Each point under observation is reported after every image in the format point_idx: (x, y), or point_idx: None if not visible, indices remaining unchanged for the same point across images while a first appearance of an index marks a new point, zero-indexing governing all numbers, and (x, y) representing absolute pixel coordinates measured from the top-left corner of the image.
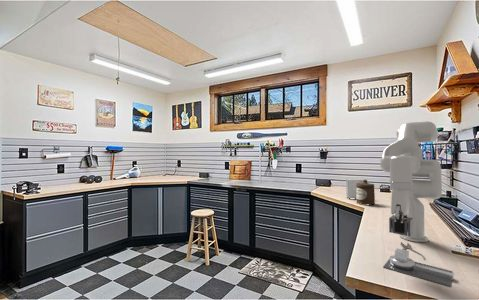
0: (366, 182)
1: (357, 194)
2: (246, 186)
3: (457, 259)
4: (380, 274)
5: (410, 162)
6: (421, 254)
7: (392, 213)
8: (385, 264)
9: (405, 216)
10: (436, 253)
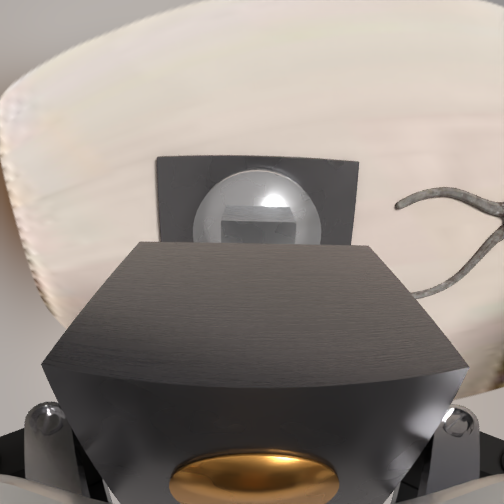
0: None
1: None
2: None
3: None
4: (75, 170)
5: None
6: (457, 280)
7: (45, 500)
8: (193, 158)
9: (397, 495)
10: (492, 317)
